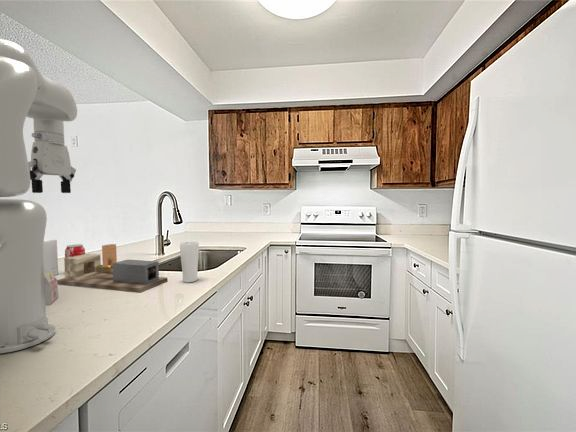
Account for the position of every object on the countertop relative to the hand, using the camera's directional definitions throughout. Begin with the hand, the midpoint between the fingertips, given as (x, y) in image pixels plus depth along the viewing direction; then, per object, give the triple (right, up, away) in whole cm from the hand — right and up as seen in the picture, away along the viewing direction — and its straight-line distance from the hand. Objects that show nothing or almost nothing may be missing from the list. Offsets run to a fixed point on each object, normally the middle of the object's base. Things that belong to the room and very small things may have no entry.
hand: (52, 192), depth 95 cm
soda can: (-14, -32, +30) cm, 47 cm away
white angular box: (+3, -35, -6) cm, 35 cm away
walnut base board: (+11, -33, +15) cm, 38 cm away
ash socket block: (-3, -31, +19) cm, 37 cm away
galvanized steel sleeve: (+21, -32, +12) cm, 40 cm away
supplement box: (-25, -33, +25) cm, 48 cm away
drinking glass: (+39, -33, +18) cm, 54 cm away
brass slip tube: (+15, -30, +14) cm, 36 cm away
